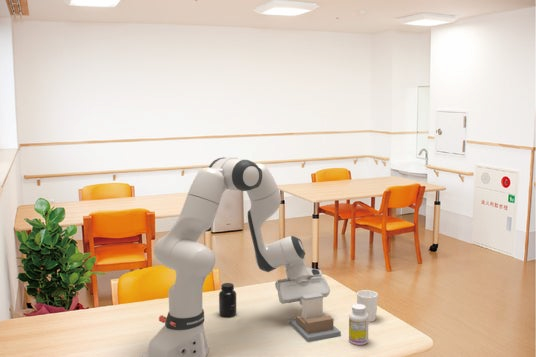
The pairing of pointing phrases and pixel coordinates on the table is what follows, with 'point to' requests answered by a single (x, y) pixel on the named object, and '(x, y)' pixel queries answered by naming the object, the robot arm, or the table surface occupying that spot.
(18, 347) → the table surface
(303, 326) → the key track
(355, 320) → the supplement bottle
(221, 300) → the supplement bottle
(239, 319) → the table surface
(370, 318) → the white cup
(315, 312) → the push key
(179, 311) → the robot arm
